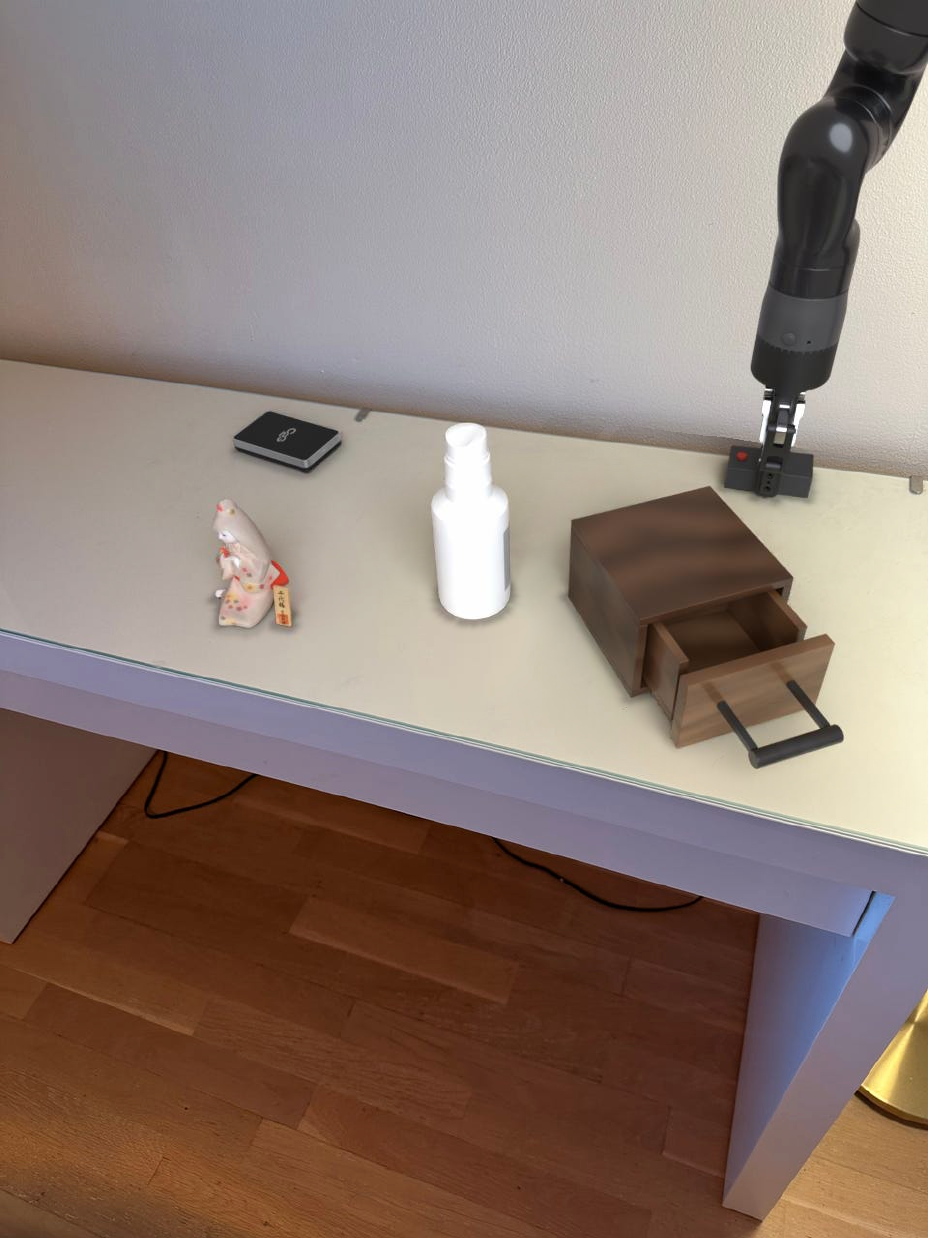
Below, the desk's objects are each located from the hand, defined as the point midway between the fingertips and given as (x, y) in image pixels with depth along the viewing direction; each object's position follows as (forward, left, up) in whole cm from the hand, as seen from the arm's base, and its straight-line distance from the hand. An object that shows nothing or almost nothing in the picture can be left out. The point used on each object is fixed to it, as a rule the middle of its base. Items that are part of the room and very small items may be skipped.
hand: (767, 477), depth 99 cm
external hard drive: (+47, -26, -1) cm, 54 cm away
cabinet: (+20, +16, 0) cm, 26 cm away
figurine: (+55, 0, -1) cm, 55 cm away
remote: (0, 0, 0) cm, 0 cm away
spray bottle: (+35, +6, -1) cm, 36 cm away
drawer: (+20, +26, 0) cm, 33 cm away
